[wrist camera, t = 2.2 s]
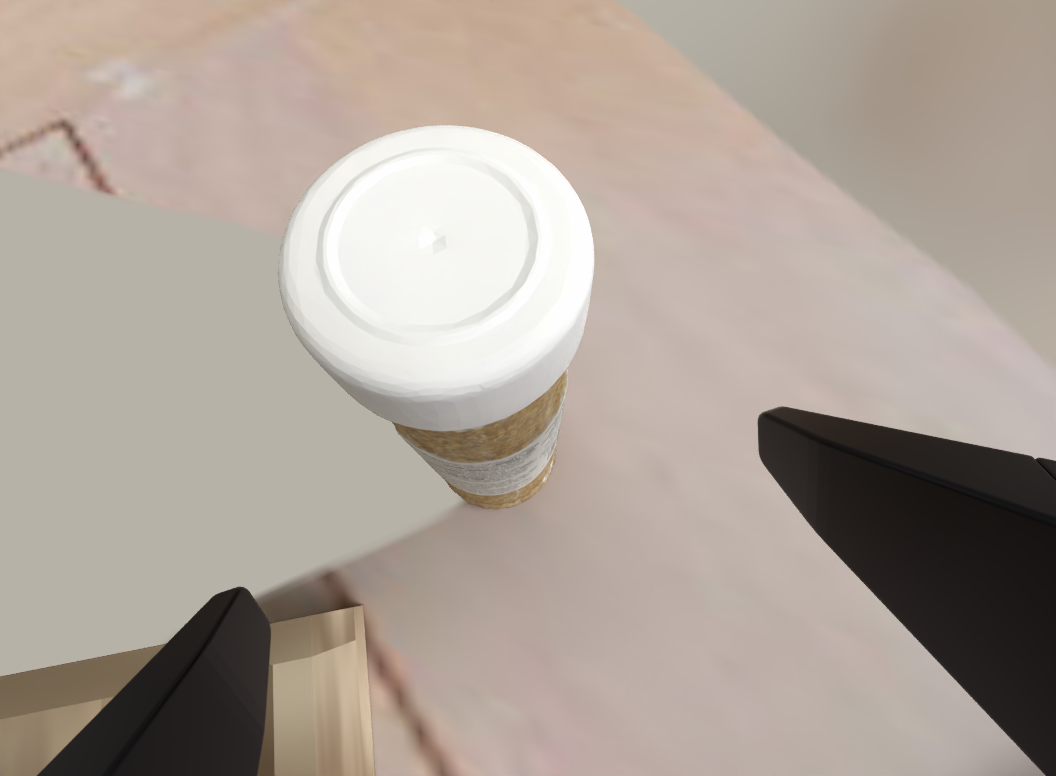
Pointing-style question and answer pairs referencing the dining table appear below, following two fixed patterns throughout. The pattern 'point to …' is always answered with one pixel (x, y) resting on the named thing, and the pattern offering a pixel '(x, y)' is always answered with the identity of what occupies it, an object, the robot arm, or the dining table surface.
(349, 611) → the beech holder
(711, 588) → the dining table surface
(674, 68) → the dining table surface
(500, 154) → the sprinkles bottle
